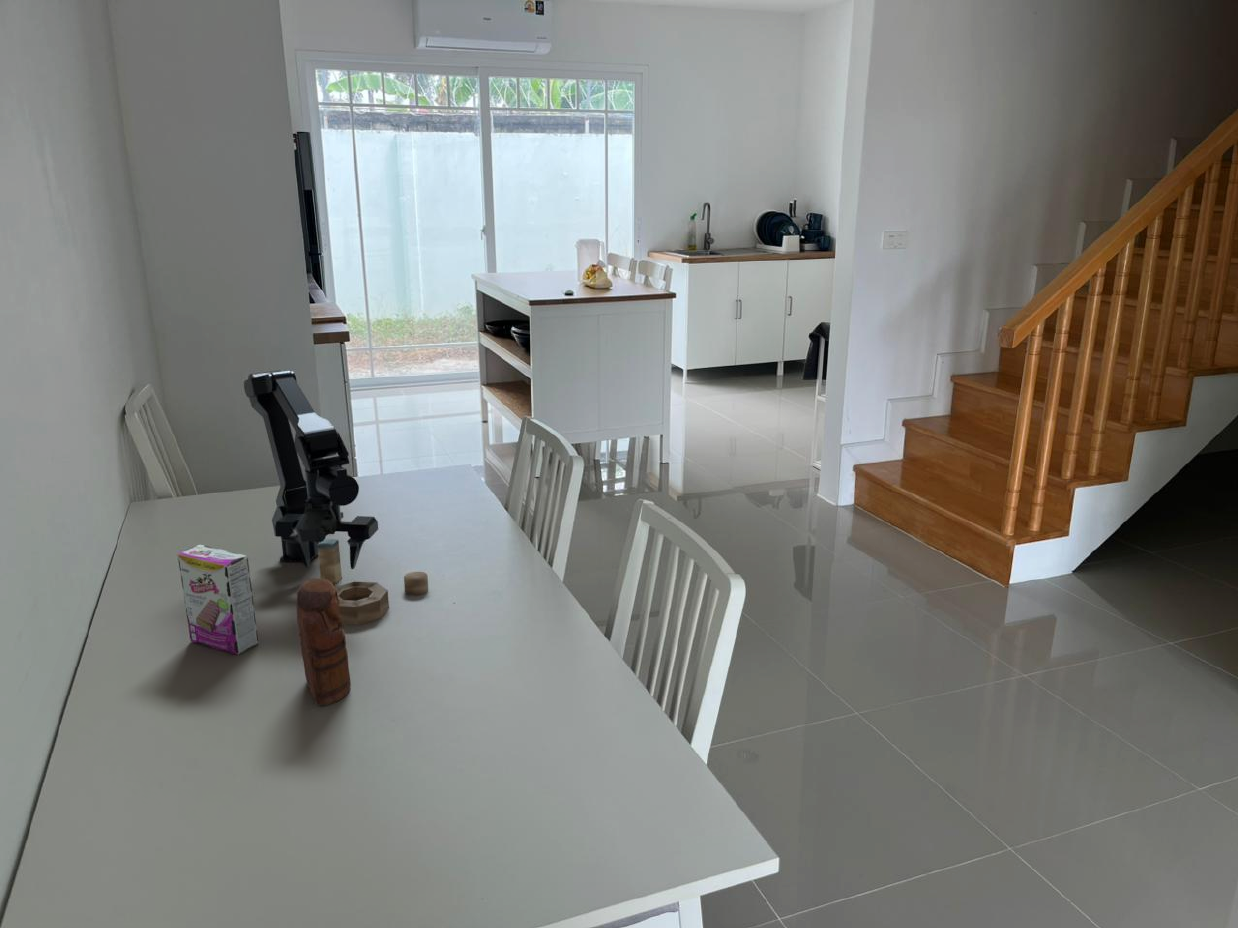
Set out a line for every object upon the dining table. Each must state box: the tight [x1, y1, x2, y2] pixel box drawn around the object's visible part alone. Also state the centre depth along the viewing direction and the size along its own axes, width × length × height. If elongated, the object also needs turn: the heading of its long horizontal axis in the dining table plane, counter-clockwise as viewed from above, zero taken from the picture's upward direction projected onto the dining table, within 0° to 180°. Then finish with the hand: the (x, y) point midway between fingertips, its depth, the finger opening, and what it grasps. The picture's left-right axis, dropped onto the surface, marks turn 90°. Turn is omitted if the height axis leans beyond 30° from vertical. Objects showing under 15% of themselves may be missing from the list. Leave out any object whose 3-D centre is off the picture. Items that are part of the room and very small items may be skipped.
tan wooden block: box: [317, 538, 343, 585], centre depth 184 cm, size 3×3×8 cm
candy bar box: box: [177, 544, 259, 656], centre depth 157 cm, size 11×5×16 cm, turn 65°
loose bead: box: [403, 571, 429, 596], centre depth 180 cm, size 4×4×3 cm
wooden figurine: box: [296, 577, 351, 706], centre depth 144 cm, size 12×6×18 cm, turn 26°
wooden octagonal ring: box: [334, 581, 390, 626], centre depth 171 cm, size 10×10×4 cm
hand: (330, 567), depth 184 cm, fingers open, 9 cm apart
